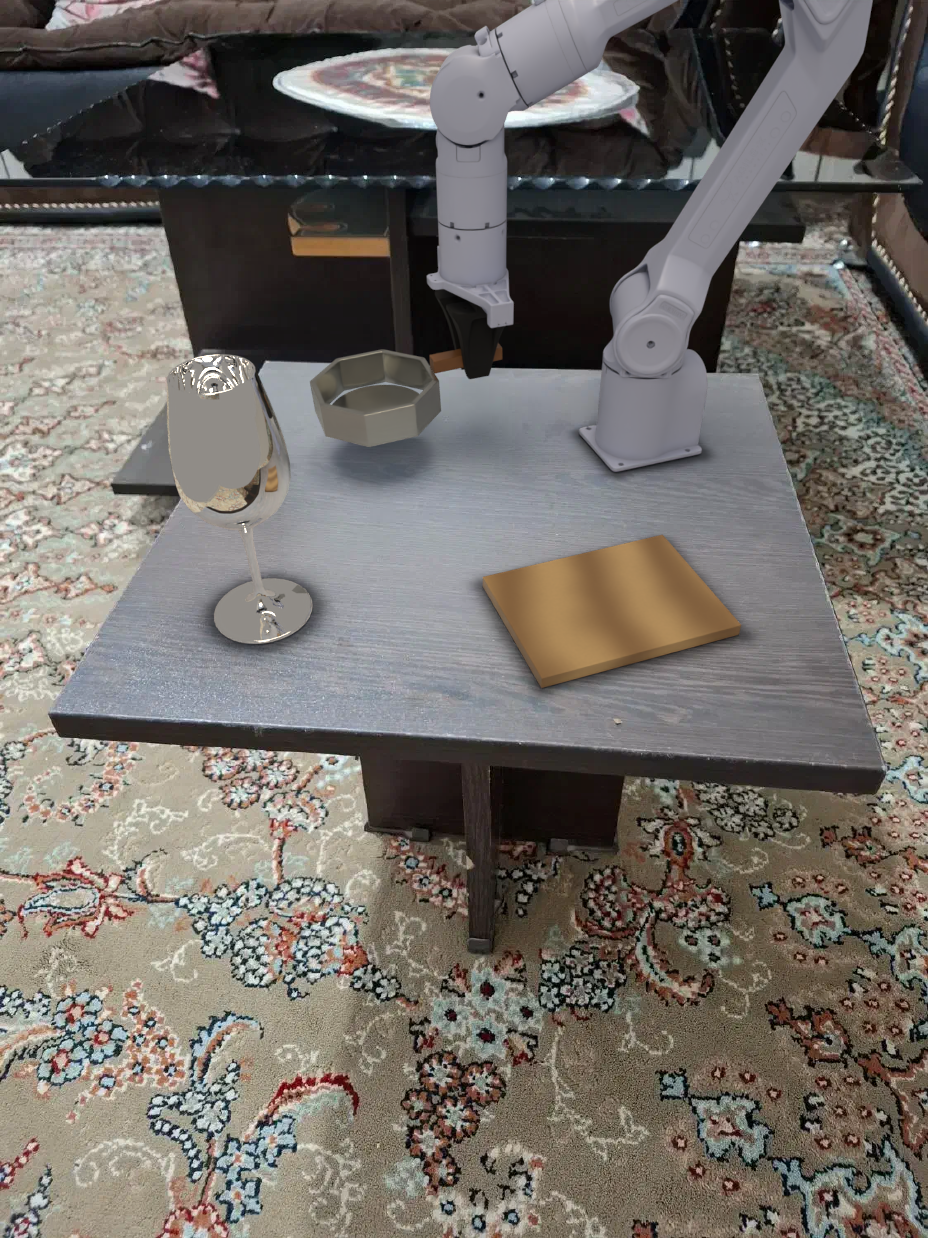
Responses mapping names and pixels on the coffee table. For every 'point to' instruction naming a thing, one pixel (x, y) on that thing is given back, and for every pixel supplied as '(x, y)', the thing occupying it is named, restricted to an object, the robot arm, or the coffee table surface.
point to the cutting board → (607, 609)
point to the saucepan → (381, 395)
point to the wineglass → (234, 481)
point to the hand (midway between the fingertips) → (474, 371)
